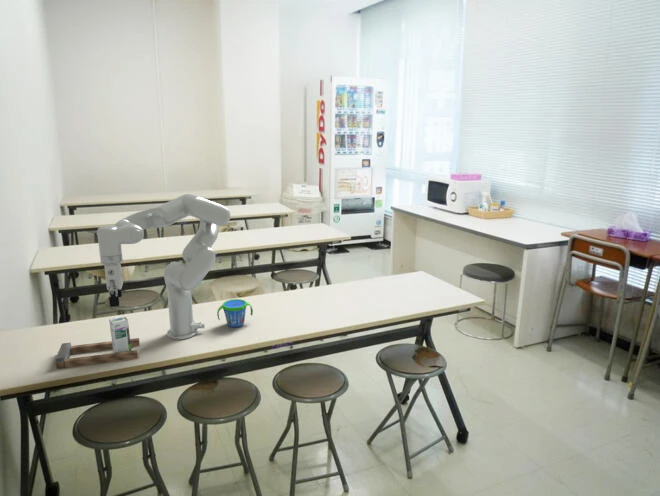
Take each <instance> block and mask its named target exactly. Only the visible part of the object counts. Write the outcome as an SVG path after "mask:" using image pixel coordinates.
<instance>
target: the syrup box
mask: <svg viewBox="0 0 660 496" xmlns="http://www.w3.org/2000/svg"><path fill="white" fill-rule="evenodd" d="M108 321H109V327H110V328H109V329H110V337H111V341H112V345H113V349H112V353H118V352H126V351H132V347H131V342H130V339H131V335H130V327H129V320H128V318H127V317H126V316H125V315H121V316H120V315H119V316H116V317H111V318H109V320H108Z"/></svg>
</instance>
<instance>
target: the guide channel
mask: <svg viewBox="0 0 660 496" xmlns="http://www.w3.org/2000/svg"><path fill="white" fill-rule="evenodd" d="M130 342H131V348H132V347H139V346H140V345H141V344H140V338H139V337H136V338H130ZM71 343H72V342H64V343H61V345H60V347H59V350H58V352H57V353H56V356H55V358H54V362H55V368H56V369H57V370H58V369H65V368H73V367H79V366H89V365H95V364H104V363H111V362H121V361H126V360H127V361H128V360H133V359H139V353H138V350H137V349H136V350H135V349H134V350H131V351H126V352H118V353H114V352H112V353H111V352H110V353H104V354H103V353H102V354H95V355H87V356H79V357H71V355H75V354H83V353H90V352H91V353H92V352H98V351H99V352H100V351H108V350H113V345H112V340H110V341H103V342H93V343H86V344H77V345H72V344H71Z"/></svg>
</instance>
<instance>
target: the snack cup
mask: <svg viewBox="0 0 660 496" xmlns="http://www.w3.org/2000/svg"><path fill="white" fill-rule="evenodd" d="M247 306H249V307H250V316H253V313H254V310H253V307H252V305H251V303H249V302H247V301H246V300H245V299H239V298H238V299H237V298H236V299H235V298H234V299H229V300H226V301H224V302H223V303H222V305H220V306H219V307H218V309H217V312H216V313H217V315H216V316H217V319H218V321H220V320H221V319H220V315H219V314H220V313H219V312H220V311H221V310H222V309H223V312H224V315H225V321H226V324H227V326H228V327H230V328H238V327H239V328H240V327H242V326H244V324H245V318H246V309H247Z"/></svg>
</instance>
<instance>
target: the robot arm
mask: <svg viewBox="0 0 660 496" xmlns="http://www.w3.org/2000/svg"><path fill="white" fill-rule="evenodd" d="M190 216H191V217H193V218H196V219H199V228H198V230H197V232H195V234H194V236H193V237H192V238H191V240H189V242H188V243H187V244H186V245H185V247H184V248H183V250H182V252H181V253H182V254H181V256H182V259H183V260H184V261H185V262H187V264H185V263H183V262H181V261H180V262H179V261H172V262H171V263H168V264H167V266H165V268H164V271H163V279H164V283H165V286H166V287H165V288H166V293H167V304H168V318H169V328H168V329H167V332H166V336H167V337H168V338H169V339H172V340H185V339H190V338H193V337H195V336H196V335H197V334H198V331H199V329H205V323H202V322H195V320H194V316H193V314H194V313H193V312H194V311H193V300H192V290H194V289H196V288H197V287H198V286H199V285H200V284H201V282H202V281H203V280H204V279H205V277H206V276H207V274H208V273H209V271H211V269H212V268H213V266H214V264H215V262H216V252H215V251H214V249H213V248H212V247H213V245H214V244H215V242H216V241H217V238H218V236H219V227H220V226H221V227H222V226H225V225H227V224H228V223H229V222H230V220H231V211H230V210H229V208H228V207H226V206H224V205H222V204H220V203H217V202H215V201H211V200H209V199H206V198H205V197H202V196H198V195H194V194H191V193H187V194H182V195H179V196H177V197H176V198H173V199H172V200H170V201H167V202H165V203H163V204H161V205H159V206H156V207H152V208H149V209H144V210H141V211H137V212H134V213H133V214H130V215H128V216H126V217H124V218H122V219H120V220H118V221H117V222H116V223H114V225H113V224H108V225H107V224H106V225H102V226H100V227H98V228H97V233H96V234H97V239H98V240H97V241H98V250H99V258H100V265H103V266H104V267H103V268H104V274H105V283H106V284H105V285H106V289H107V291H108V300H109V307H111V308H113V307H119V306H120V299H119V298H121V297H122V296H123V294H122V288H123V285H124V279H123V278H124V277H123V272H122V271H123V270H122V265H121V264H122V263H123V252H122V251H123V250H122V245H134V244H138V243H140V242H141V241H142V240H143V239H144V235H145V233H144V230H147V229H150V228H165V227H168V226H171V225H173V224H175V223H177V222H179V221H181V220H184V219H185V218H187V217H190Z"/></svg>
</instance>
